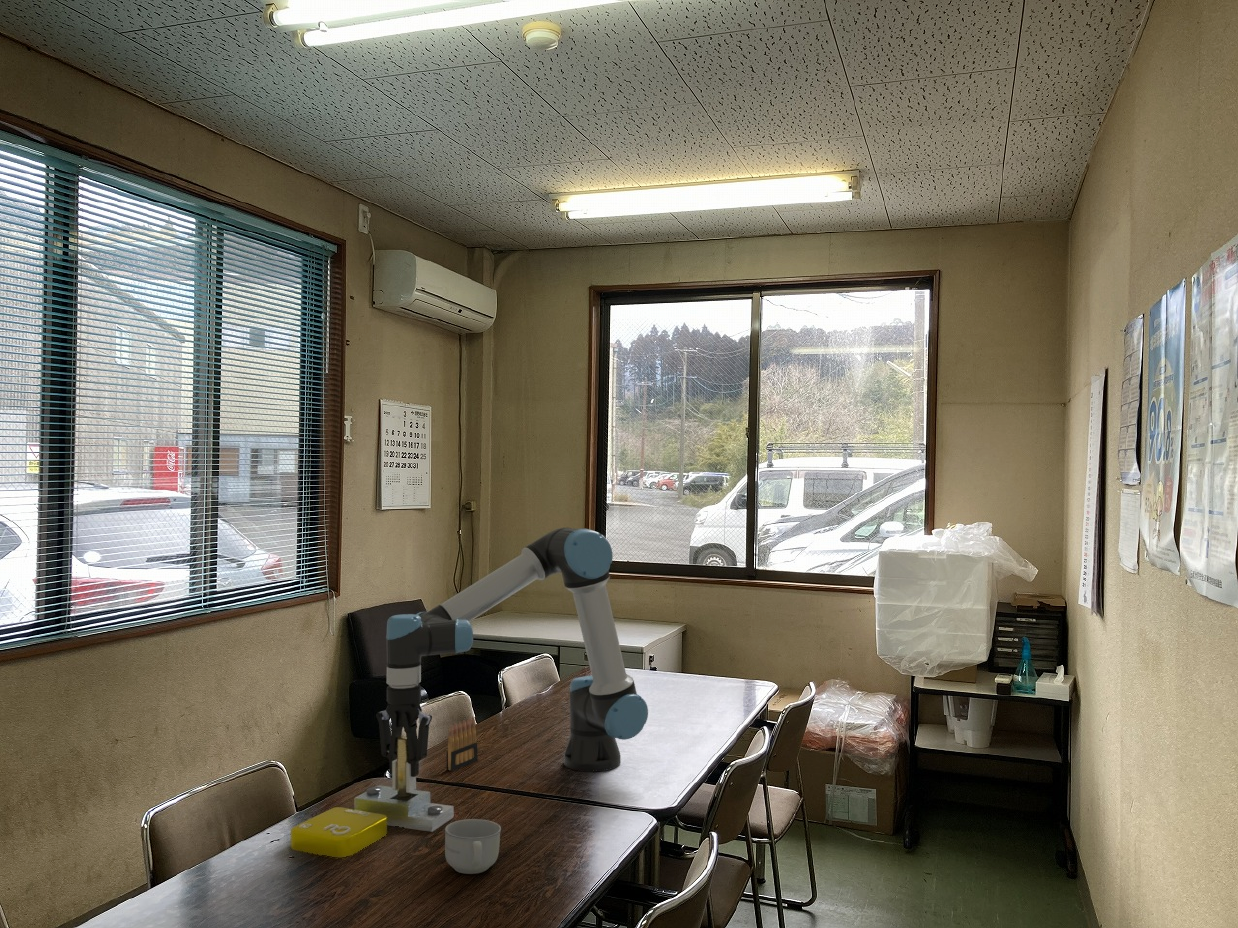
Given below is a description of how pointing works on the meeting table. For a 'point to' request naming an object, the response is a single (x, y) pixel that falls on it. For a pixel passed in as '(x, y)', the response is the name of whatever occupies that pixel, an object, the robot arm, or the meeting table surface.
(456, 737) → the ammunition clip
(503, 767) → the meeting table surface
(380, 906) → the meeting table surface
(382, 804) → the bolted socket block
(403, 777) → the brass pin
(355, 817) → the element tile
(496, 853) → the teacup
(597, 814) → the meeting table surface
